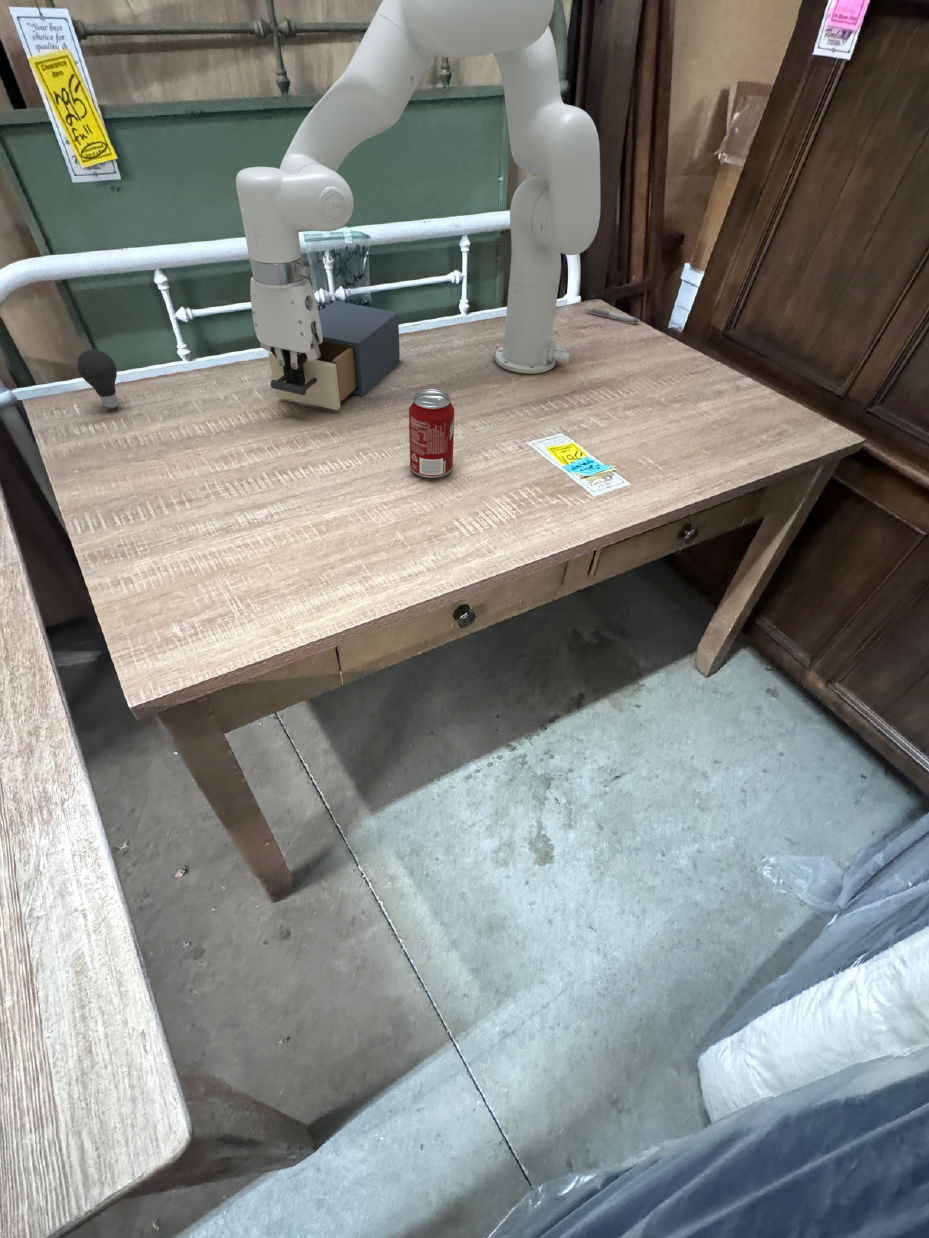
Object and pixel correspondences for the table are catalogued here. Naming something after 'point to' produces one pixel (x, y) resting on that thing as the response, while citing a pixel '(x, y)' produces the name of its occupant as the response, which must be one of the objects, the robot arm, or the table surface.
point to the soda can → (431, 433)
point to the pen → (614, 315)
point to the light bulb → (99, 375)
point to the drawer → (320, 377)
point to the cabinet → (364, 339)
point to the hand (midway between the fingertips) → (296, 387)
